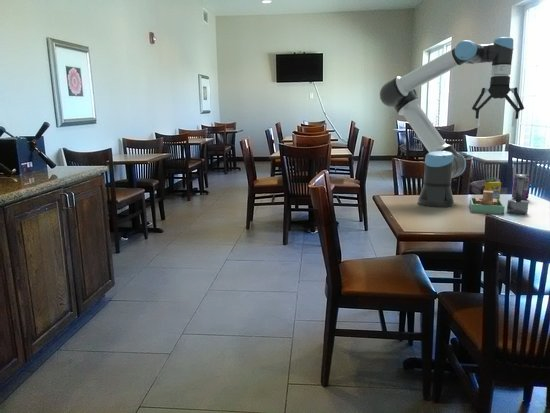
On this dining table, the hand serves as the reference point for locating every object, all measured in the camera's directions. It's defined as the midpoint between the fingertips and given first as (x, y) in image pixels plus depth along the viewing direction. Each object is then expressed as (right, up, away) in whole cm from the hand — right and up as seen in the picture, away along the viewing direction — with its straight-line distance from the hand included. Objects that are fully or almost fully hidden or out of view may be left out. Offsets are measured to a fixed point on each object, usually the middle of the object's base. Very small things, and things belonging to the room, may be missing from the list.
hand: (495, 126), depth 200 cm
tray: (-5, -36, -2) cm, 36 cm away
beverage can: (+23, -31, +24) cm, 46 cm away
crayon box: (+4, -33, +13) cm, 36 cm away
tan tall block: (-5, -35, -2) cm, 35 cm away
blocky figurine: (+4, -37, -10) cm, 39 cm away
